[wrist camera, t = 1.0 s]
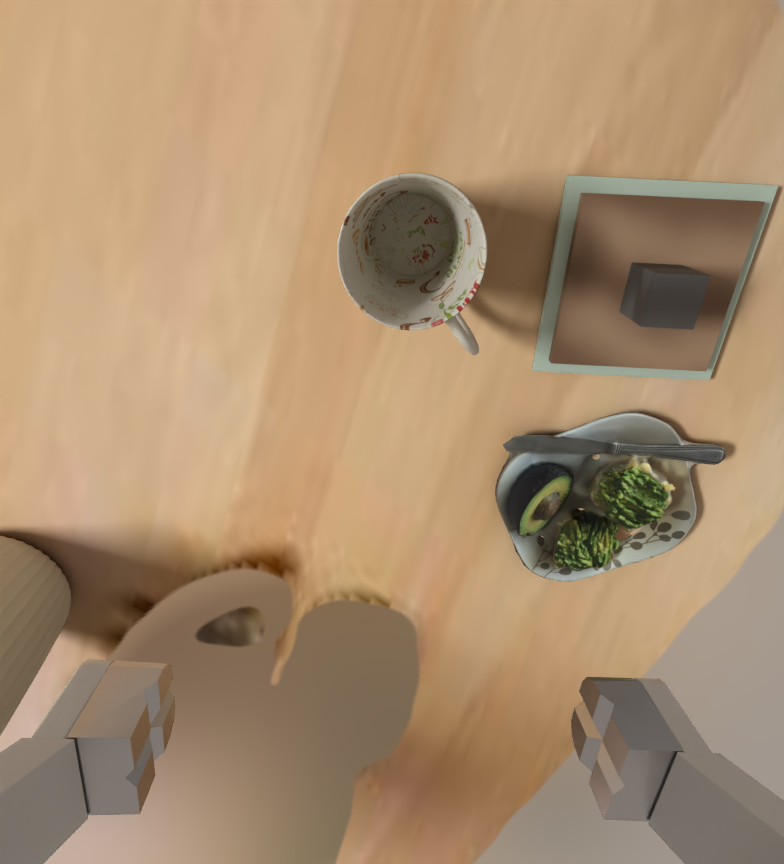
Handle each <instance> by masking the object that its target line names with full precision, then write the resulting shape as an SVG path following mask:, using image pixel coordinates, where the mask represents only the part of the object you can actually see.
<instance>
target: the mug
mask: <svg viewBox="0 0 784 864" xmlns="http://www.w3.org/2000/svg"><path fill="white" fill-rule="evenodd" d="M487 252H488V250H487V238H486V233H485V228H484V225H483V222H482V220H481V217H480V215H479V213H478V211H477V210H476V208H475V206H474V205H473V203H472V202H471V201H470V200H469V198H468V197H467V196H466V195H465V194H464V193H463V192H462V191H461V190H460V189H458V188H457V187H456V186H454V185H453V184H451V183H450V182H448V181H446V180H444V179H442V178H439V177H436V176H433V175H429V174H424V173H402V174H397V175H393V176H390V177H387V178H385V179H383V180H381V181H379V182H377V183H375V184H374V185H372V186H371V187H369V188H368V189H367V190H366V191H364V192H363V193H362V194H361V195H360V196H359V197H358V199H357V200H356V201H355V202H354V203H353V205H352V206H351V208H350V209H349V211H348V213H347V215H346V216H345V219H344V221H343V223H342V226H341V230H340V234H339V238H338V246H337V258H338V266H339V271H340V275H341V278H342V281H343V284H344V286H345V288H346V290H347V292H348V294H349V295H350V297H351V298H352V300H353V301H354V302H355V304H356V305H357V306H358V307H359V308H360V309H361V310H362V311H363V312H364V313H365V314H367V315H368V316H369V317H371V318H372V319H374V320H375V321H377V322H379V323H381V324H383V325H386V326H389V327H392V328H396V329H401V330H421V329H427V328H431V327H434V326H437V325H440V324H442V323H444V322H445V323H446V324H447V326H448V327H449V328H450V330H451V331H452V333H453V334H454V336H455V337H456V338H457V340H458V341H459V342H460V344H461V345H462V346H463V347H464V348H465V349H466V350H467V351H468V352H469V353H470V354H472V355H476V354H478V353H479V346H478V343H477V341H476V339H475V337H474V335H473V333H472V332H471V330H470V328H469V327H468V325H467V324H466V322H465V321H464V319H463V318H462V316H461V314H460V313H459V312H460V311H461V310H462V309H463V308H464V307H465V306H466V305H467V304H468V303H469V302H470V300H471V299H472V298H473V296H474V295H475V293H476V292H477V290H478V288H479V286H480V284H481V281H482V279H483V276H484V272H485V268H486V263H487Z"/></svg>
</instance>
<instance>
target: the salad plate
mask: <svg viewBox="0 0 784 864" xmlns="http://www.w3.org/2000/svg"><path fill="white" fill-rule="evenodd" d="M503 446H504V448H505V449H506V451H509V452H510V455H509V458H508V460H507V461H506V463H505V465H504V466H503V468H502V471H501V473H500V475H499V477H498V479H497V484H496V490H495V494H496V501H497V505H498V508H499V511H500V514H501V516H502V518H503V520H504V523H505V525H506V527H507V530H508V532H509V534H510V536H511V538H512V541H513V544H514V547H515V550H516V552H517V554H518V555H519V557H520V559H521V560H522V562H523V564H524V566H526V567H527V568H528V569H529V570H530V571H532V572H533V573H535V574H537V575H539V576H541V577H544V578H548V579H552V580H557V581H575V580H580V579H584V578H588V577H591V576H594V575H597V574H600V573H603V572H606V571H609V570H612V569H615V568H619V567H622V566H624V565H627V564H631V563H635V562H640V561H642V560H645V559H648V558H652V557H654V556H657V555H660V554H662V553H665V552H667V551H669V550H671V549H672V548H673V547H675V546H676V545H677V544H678V543H680V541H681V540H682V539H683V538H684V537H685V536H686V534H687V533H688V531H689V530H690V529H691V527H692V525H693V523H694V521H695V519H696V517H697V516H696V514H697V506H696V501H695V495H694V488H693V485H692V480H691V477H690V473H691V467H692V466H693V465H694V464H699V463H703V464H713V465H714V464H718V463H720V462H721V461H723V460H724V459H725V456H726V450H725V449H724V448H723V447H722V446H720V445H713V444H700V443H691V442H688V441H685V440H684V439H682V438H681V437H680V435H679V434H677V432H676V431H675V430H674V428H673V427H671V425H670V424H668V423H666V422H663V421H661V420H659V419H657V418H654V417H652V416H649V415H645V414H643V413H640V412H633V413H621V414H617V415H612V416H607V417H603V418H600V419H597V420H593V421H591V422H589V423H586V424H584V425H581V426H579V427H575V428H573V429H570V430H567V431H565V432H562V433H559V434H555V435H525V436H516V437H513V438H512V439H511V440H510V441H508V442H507V443H505V444H504V445H503ZM593 454H599V455H600V458H599V459H598V460H594V459H593V458H592V455H593ZM578 508H584V509H585V510H582V511H581V510H578ZM617 524H618V525H620V526H621V527H622V528H623V529H624V530H626V531H627V532H631V531H633V530H635V529H639V528H641V527H642V526H644V525H645V526H644V527H643V528H642V529H641V530H639V531H638V532H636V533H635V534H634V535H632V536H630V537H629V538H627V539H624V540H622V541H619V540H618V539H616V538H614V535H615V533H616V532H617V531H618V529H619V527H618V525H617ZM541 536H543V537H544V538H543V537H541Z"/></svg>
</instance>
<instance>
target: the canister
mask: <svg viewBox="0 0 784 864" xmlns="http://www.w3.org/2000/svg"><path fill="white" fill-rule="evenodd" d="M70 606H71V590H70V588H69V583H68V581H67V580H66V576H65V575H64V574H63V573H62V571H61V569H60V568H59V567H58V566H57V565H56V563H55V562H53V561H52V560H51V559H50V558H49V556H47V555H45V554H43V553H42V552H41V550H37V549H35V548H34V547H33V546H32V545H28V544H26V543H24V542H23V541H17V540H15V539H14V538H7V537H5V536H0V736H1V734H2V732H3V731H4V729H5V727H6V726H7V724H8V722H9V721H10V719H11V717H12V716H13V714H14V712H15V710H16V709H17V707H18V705H19V704H20V702H21V700H22V698H23V697H24V695H25V693H26V692H27V690H28V688H29V687H30V685H31V683H32V682H33V680H34V678H35V677H36V675H37V673H38V671H39V670H40V668H41V666H42V664H43V663H44V661H45V659H46V657H47V656H48V654H49V652H50V650H51V648H52V647H53V645H54V643H55V641H56V639H57V638H58V636H59V634H60V632H61V630H62V628H63V626H64V624H65V622H66V620H67V618H68V615H69V611H70Z"/></svg>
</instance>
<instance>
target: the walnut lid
mask: <svg viewBox="0 0 784 864" xmlns="http://www.w3.org/2000/svg"><path fill="white" fill-rule="evenodd" d="M764 204H765V202H761V201H745V200H724V199H703V198H683V197H662V196H641V195H621V194H600V193H581V194H580V199H579V204H578V210H577V215H576V220H575V225H574V230H573V235H572V241H571V246H570V251H569V256H568V261H567V266H566V272H565V277H564V282H563V287H562V292H561V297H560V303H559V308H558V313H557V318H556V323H555V328H554V334H553V339H552V344H551V349H550V354H549V359H548V360H549V362H550V363H553V364H572V365H591V366H611V367H630V368H649V369H668V370H687V371H706V370H707V368H708V365H709V362H710V359H711V356H712V353H713V350H714V347H715V345H716V342H717V339H718V336H719V333H720V330H721V327H722V324H723V322H724V319H725V316H726V313H727V310H728V307H729V304H730V301H731V299H732V296H733V293H734V290H735V287H736V284H737V281H738V278H739V276H740V273H741V270H742V267H743V264H744V261H745V258H746V255H747V253H748V250H749V247H750V244H751V241H752V238H753V235H754V232H755V230H756V227H757V224H758V221H759V218H760V215H761V212H762V209H763V207H764Z"/></svg>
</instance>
